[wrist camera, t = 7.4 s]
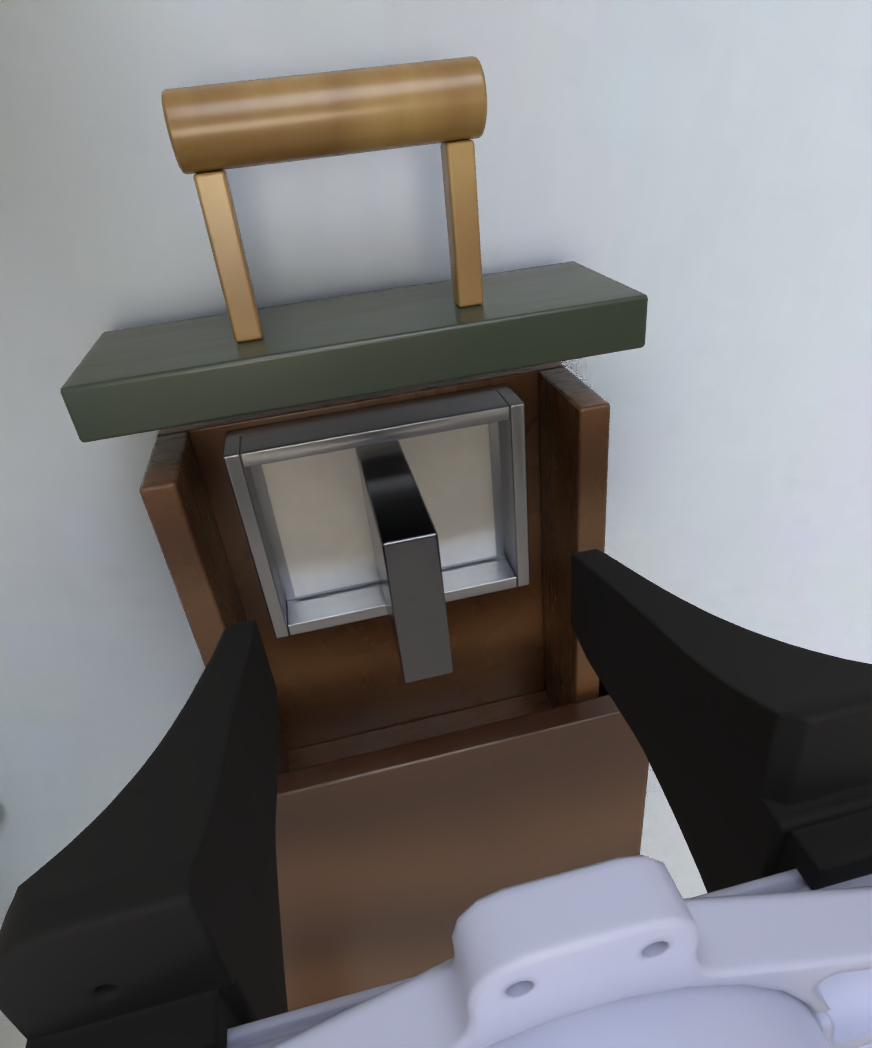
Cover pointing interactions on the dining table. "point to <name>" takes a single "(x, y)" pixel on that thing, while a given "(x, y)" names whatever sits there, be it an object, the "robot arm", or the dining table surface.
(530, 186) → the dining table surface
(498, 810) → the cabinet
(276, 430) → the tray
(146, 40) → the dining table surface
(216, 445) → the drawer
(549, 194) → the dining table surface
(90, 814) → the dining table surface
